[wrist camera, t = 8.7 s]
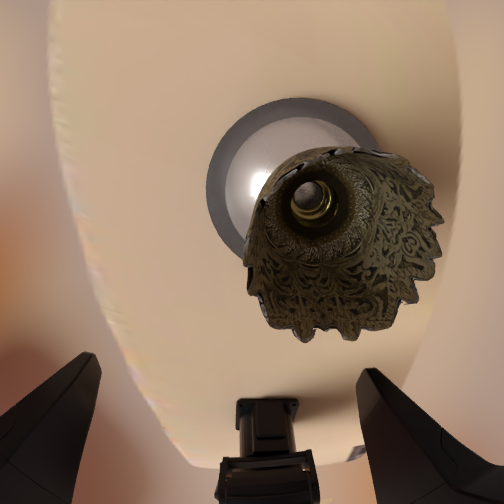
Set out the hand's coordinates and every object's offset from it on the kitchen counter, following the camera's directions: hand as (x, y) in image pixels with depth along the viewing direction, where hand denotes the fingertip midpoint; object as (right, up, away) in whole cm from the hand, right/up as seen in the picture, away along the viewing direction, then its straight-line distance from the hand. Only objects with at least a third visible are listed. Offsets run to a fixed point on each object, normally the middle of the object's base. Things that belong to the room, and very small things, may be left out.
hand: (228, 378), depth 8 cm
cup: (+4, +7, +8) cm, 11 cm away
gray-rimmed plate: (+4, +8, +9) cm, 12 cm away
